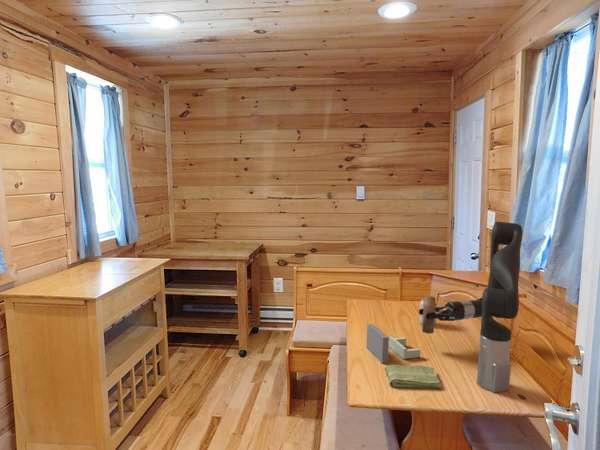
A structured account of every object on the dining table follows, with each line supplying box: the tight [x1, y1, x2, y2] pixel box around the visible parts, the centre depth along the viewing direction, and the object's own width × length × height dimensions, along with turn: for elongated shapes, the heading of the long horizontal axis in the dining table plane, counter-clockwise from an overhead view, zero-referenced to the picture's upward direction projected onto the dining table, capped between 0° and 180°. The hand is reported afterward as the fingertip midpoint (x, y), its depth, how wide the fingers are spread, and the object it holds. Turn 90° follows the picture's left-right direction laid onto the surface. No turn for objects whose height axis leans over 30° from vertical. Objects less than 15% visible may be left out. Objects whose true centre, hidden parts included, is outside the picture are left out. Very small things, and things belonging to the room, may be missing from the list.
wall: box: [366, 323, 390, 364], centre depth 160 cm, size 14×2×10 cm, turn 15°
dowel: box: [421, 295, 436, 334], centre depth 165 cm, size 4×4×14 cm
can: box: [418, 297, 438, 326], centre depth 194 cm, size 8×8×12 cm
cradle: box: [388, 335, 422, 360], centre depth 164 cm, size 12×7×4 cm, turn 15°
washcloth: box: [384, 364, 443, 389], centre depth 143 cm, size 13×18×3 cm
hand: (422, 314), depth 164 cm, fingers closed on dowel, 4 cm apart
